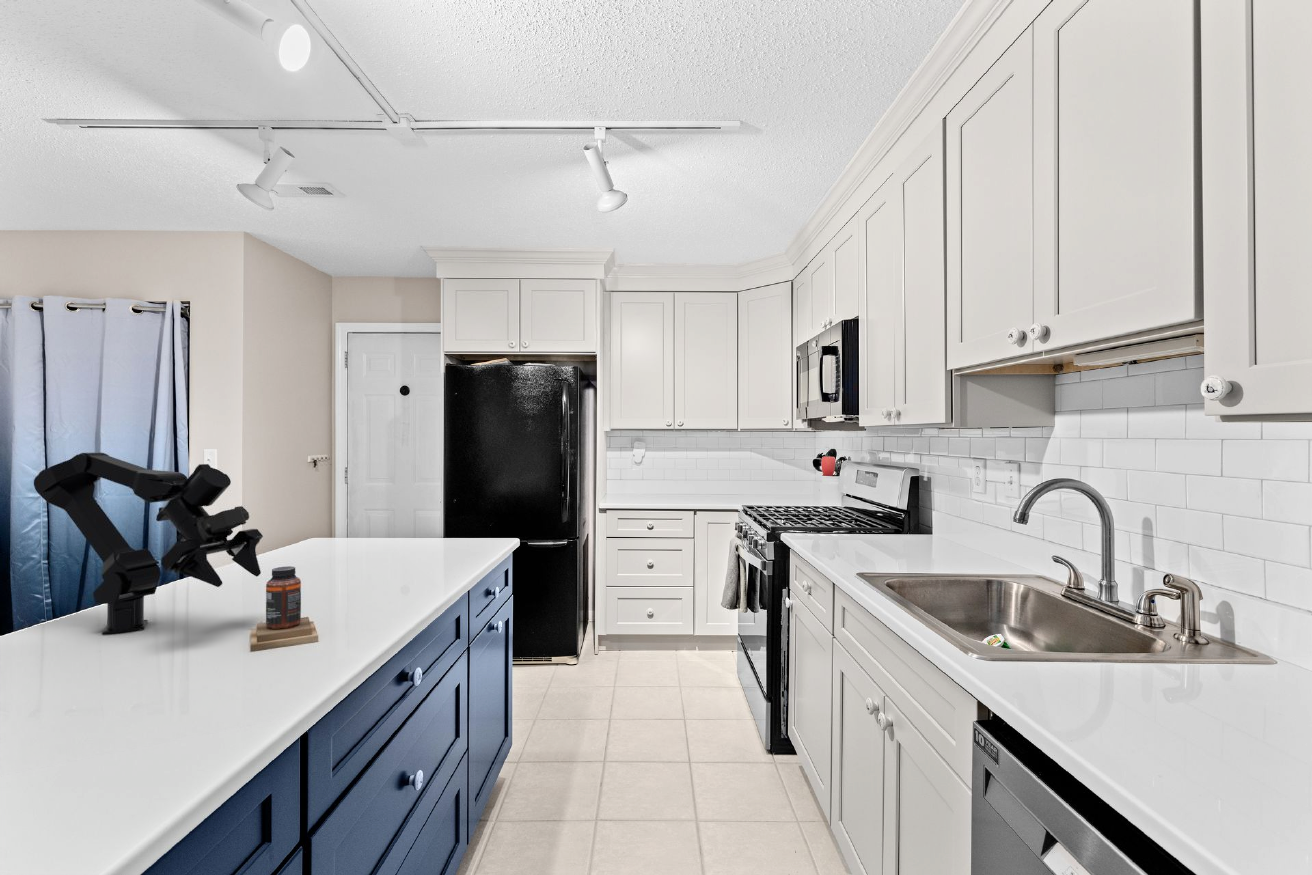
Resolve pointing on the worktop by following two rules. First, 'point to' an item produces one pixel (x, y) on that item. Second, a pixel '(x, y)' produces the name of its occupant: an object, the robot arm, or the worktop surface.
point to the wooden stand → (283, 635)
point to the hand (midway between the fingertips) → (240, 579)
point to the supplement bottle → (283, 599)
